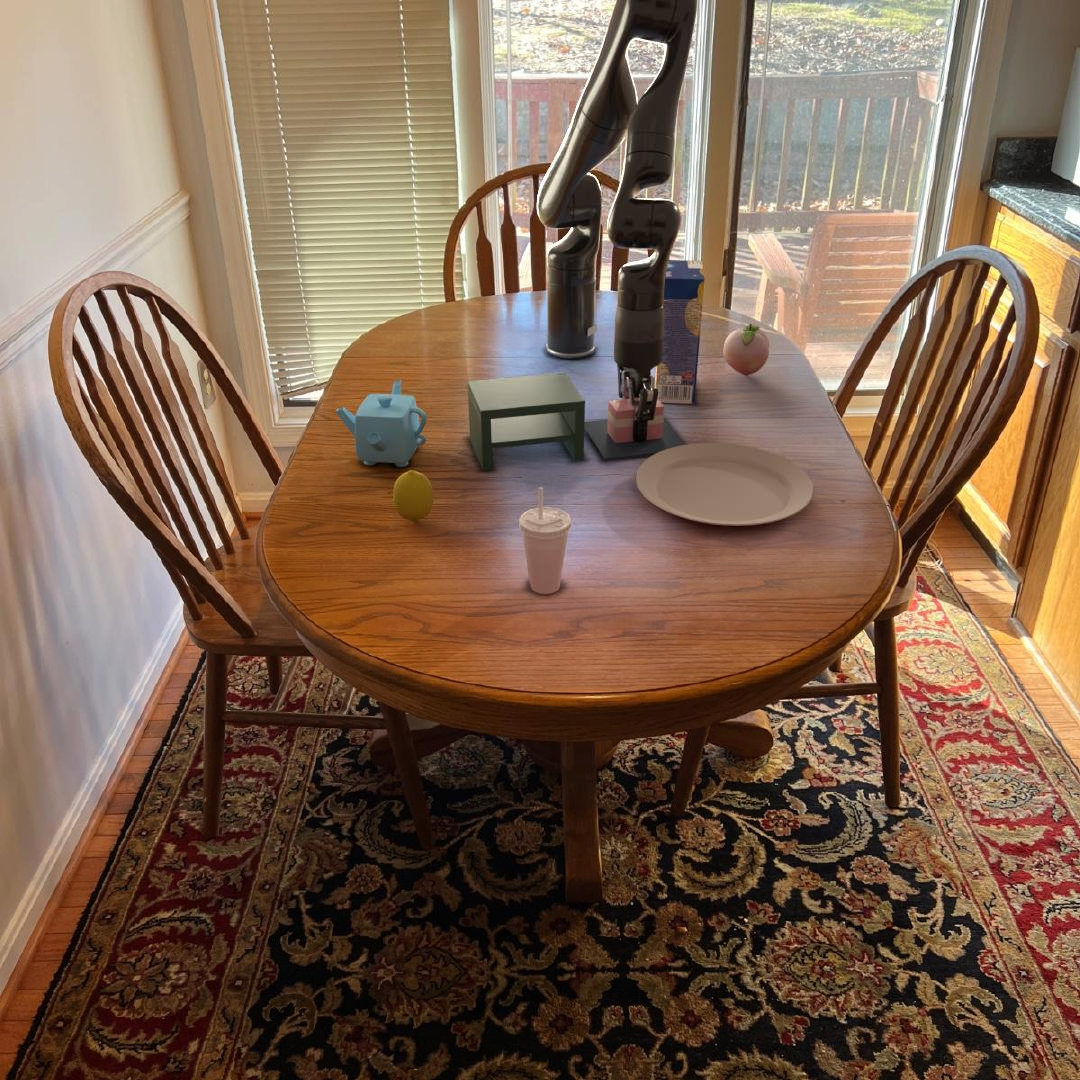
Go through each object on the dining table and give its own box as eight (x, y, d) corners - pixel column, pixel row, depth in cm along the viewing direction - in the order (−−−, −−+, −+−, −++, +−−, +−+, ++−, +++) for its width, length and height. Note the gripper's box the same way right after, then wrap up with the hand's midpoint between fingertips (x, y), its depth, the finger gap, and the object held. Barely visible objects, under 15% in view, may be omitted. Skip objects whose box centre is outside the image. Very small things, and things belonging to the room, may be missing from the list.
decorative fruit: (722, 365, 192) (727, 313, 187) (766, 368, 191) (772, 316, 186) (719, 383, 184) (724, 330, 179) (765, 386, 183) (771, 333, 178)
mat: (580, 424, 169) (580, 421, 169) (660, 416, 172) (660, 413, 172) (604, 461, 157) (604, 458, 157) (689, 451, 160) (689, 449, 160)
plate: (840, 528, 139) (842, 515, 138) (661, 544, 136) (661, 531, 135) (774, 448, 161) (775, 437, 160) (617, 461, 157) (618, 449, 156)
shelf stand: (469, 438, 165) (467, 381, 160) (565, 428, 168) (565, 372, 163) (483, 471, 155) (480, 411, 150) (583, 460, 158) (585, 401, 153)
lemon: (441, 515, 143) (438, 464, 139) (424, 534, 139) (421, 482, 134) (405, 509, 145) (401, 459, 140) (388, 527, 140) (383, 476, 136)
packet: (606, 432, 165) (607, 400, 163) (653, 427, 167) (655, 395, 164) (614, 443, 162) (615, 411, 159) (662, 438, 163) (664, 406, 160)
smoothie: (518, 573, 130) (516, 476, 123) (567, 570, 130) (569, 474, 123) (521, 601, 125) (520, 501, 117) (573, 598, 125) (575, 499, 118)
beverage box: (692, 380, 186) (701, 260, 174) (694, 404, 176) (704, 279, 165) (654, 378, 186) (661, 259, 175) (655, 402, 177) (662, 278, 166)
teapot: (417, 484, 151) (412, 422, 146) (325, 479, 153) (318, 418, 147) (440, 433, 167) (436, 375, 161) (357, 429, 168) (351, 372, 163)
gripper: (678, 346, 150) (671, 450, 159) (647, 316, 162) (642, 414, 171) (629, 350, 149) (625, 455, 158) (602, 320, 161) (600, 418, 170)
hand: (634, 433), depth 164 cm, fingers closed on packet, 4 cm apart
